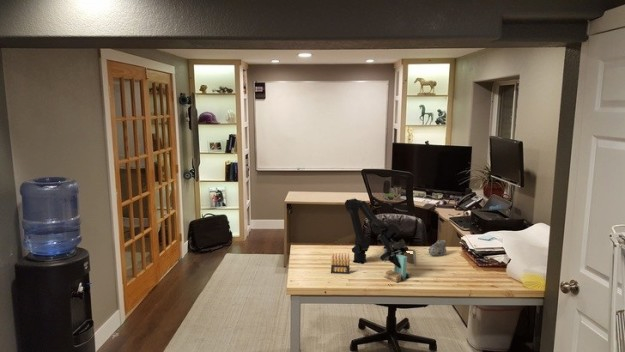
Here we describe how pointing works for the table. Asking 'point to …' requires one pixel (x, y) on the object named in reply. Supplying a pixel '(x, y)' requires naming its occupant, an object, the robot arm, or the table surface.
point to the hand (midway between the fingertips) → (402, 266)
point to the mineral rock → (438, 248)
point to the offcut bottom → (393, 279)
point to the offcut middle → (392, 276)
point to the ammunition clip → (339, 267)
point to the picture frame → (409, 257)
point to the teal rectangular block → (403, 264)
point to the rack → (403, 278)
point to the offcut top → (394, 274)
